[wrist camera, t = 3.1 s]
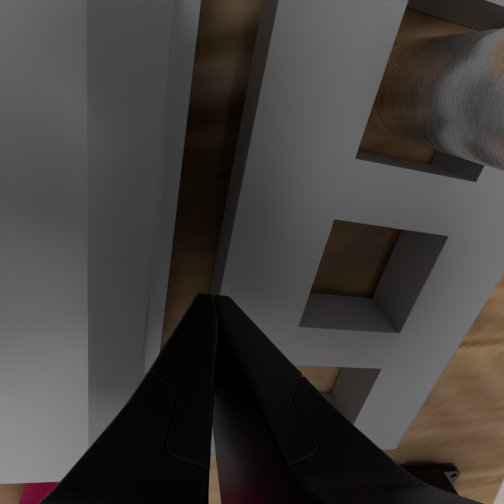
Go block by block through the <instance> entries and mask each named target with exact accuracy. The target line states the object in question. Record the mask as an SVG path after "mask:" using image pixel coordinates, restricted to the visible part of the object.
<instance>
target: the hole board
mask: <svg viewBox="0 0 504 504" xmlns="http://www.w3.org/2000/svg"><path fill="white" fill-rule="evenodd" d="M406 7H407V8H411V9H414V10H417V11H420V12H423V13H426V14H429V15H432V16H435V17H438V18H442V19H445V20H448V21H451V22H454V23H457V24H460V25H463V26H466V27H469V28H473V29H476V30H479V31H485V30H493V29H500V28H504V0H263V3H262V8H261V14H260V19H259V25H258V30H257V36H256V41H255V47H254V52H253V58H252V63H251V69H250V74H249V79H248V85H247V90H246V96H245V101H244V107H243V112H242V118H241V123H240V129H239V134H238V140H237V145H236V150H235V156H234V161H233V167H232V172H231V178H230V183H229V189H228V194H227V200H226V205H225V211H224V216H223V221H222V227H221V232H220V238H219V243H218V249H217V254H216V260H215V265H214V271H213V276H212V282H211V287H210V292H209V294H212V295H213V297H214V295H226V296H229V297H231V298H232V299H233V301H234V302H235V303H236V304H237V305H238V306H239V307H240V308H241V309H242V310H243V311H244V312H245V313H246V314H247V316H248V317H249V318H250V319H251V320H252V321H253V322H254V323H255V324H256V325H257V326H258V327H259V328H260V330H261V331H262V332H263V333H264V334H265V335H266V336H267V337H268V338H269V339H270V340H271V341H272V342H273V343H274V345H275V346H276V347H277V348H278V349H279V350H280V351H281V352H282V353H283V354H284V355H285V356H286V357H287V358H288V360H289V361H290V362H291V363H292V364H293V365H295V366H322V367H342V368H341V370H340V373H339V375H338V377H337V380H336V382H335V384H334V387H333V389H332V391H331V393H321V394H322V395H323V396H324V397H325V398H326V399H327V400H328V401H329V403H331V404H332V405H333V406H334V407H335V408H336V409H337V410H338V411H339V412H340V413H341V414H342V415H343V416H344V417H346V418H347V419H348V420H349V421H350V422H351V423H352V424H353V425H354V426H355V427H357V428H358V429H359V430H360V431H361V432H362V433H363V434H364V435H366V436H367V437H368V438H369V439H370V440H371V441H372V442H373V443H374V444H376V445H377V446H378V447H379V448H380V449H381V450H384V449H396V448H397V446H398V444H399V443H400V441H401V439H402V438H403V436H404V435H405V433H406V431H407V430H408V428H409V426H410V425H411V423H412V422H413V420H414V418H415V417H416V415H417V413H418V412H419V410H420V409H421V407H422V405H423V404H424V402H425V400H426V399H427V397H428V396H429V394H430V392H431V391H432V389H433V387H434V386H435V384H436V383H437V381H438V379H439V378H440V376H441V374H442V373H443V371H444V370H445V368H446V366H447V365H448V363H449V361H450V360H451V358H452V357H453V355H454V353H455V352H456V350H457V348H458V347H459V345H460V344H461V342H462V340H463V339H464V337H465V335H466V334H467V332H468V331H469V329H470V327H471V326H472V324H473V322H474V321H475V319H476V318H477V316H478V314H479V313H480V311H481V309H482V308H483V306H484V305H485V303H486V301H487V300H488V298H489V296H490V295H491V293H492V292H493V290H494V288H495V287H496V285H497V283H498V282H499V280H500V279H501V277H502V275H503V274H504V172H503V171H500V170H497V169H494V168H491V167H488V166H485V165H482V164H478V163H475V162H472V161H469V160H466V159H463V158H460V157H457V156H454V155H451V154H448V153H445V152H442V151H439V150H436V152H435V155H434V157H433V159H432V162H431V164H427V163H422V162H417V161H412V160H407V159H402V158H397V157H392V156H387V155H382V154H377V153H372V152H367V151H363V150H358V148H359V145H360V142H361V139H362V136H363V133H364V130H365V127H366V124H367V121H368V118H369V115H370V113H371V110H372V107H373V104H374V101H375V98H376V95H377V92H378V89H379V86H380V83H381V80H382V77H383V74H384V71H385V68H386V65H387V62H388V59H389V56H390V53H391V50H392V47H393V44H394V41H395V38H396V35H397V32H398V29H399V26H400V23H401V20H402V18H403V15H404V12H405V9H406ZM334 219H335V220H342V221H349V222H355V223H362V224H369V225H376V226H383V227H389V228H396V229H402V230H401V233H400V235H399V237H398V240H397V242H396V244H395V247H394V249H393V251H392V253H391V256H390V258H389V260H388V263H387V265H386V267H385V269H384V272H383V274H382V276H381V279H380V281H379V283H378V286H377V288H376V290H375V292H374V295H373V297H372V298H361V297H350V296H339V295H328V294H317V293H310V291H311V288H312V285H313V282H314V279H315V276H316V273H317V270H318V267H319V264H320V261H321V258H322V255H323V252H324V249H325V246H326V243H327V240H328V237H329V234H330V231H331V228H332V225H333V222H334ZM211 454H216V452H215V444H214V435H213V427H212V440H211Z"/></svg>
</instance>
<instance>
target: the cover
mask: <svg viewBox="0 0 504 504" xmlns="http://www.w3.org/2000/svg"><path fill="white" fill-rule="evenodd" d="M200 6H201V0H0V484H14V483H39V482H60V481H61V480H62V479H63V478H64V477H65V475H66V474H67V473H68V472H69V471H70V470H71V468H72V467H73V466H74V465H75V464H76V463H77V461H78V460H79V459H80V458H81V457H82V456H83V454H84V453H85V452H86V451H87V450H88V449H89V447H90V446H91V445H92V444H93V443H94V442H95V440H96V439H97V438H98V437H99V436H100V435H101V433H102V432H103V431H104V430H105V429H106V428H107V426H108V425H109V424H110V423H111V422H112V420H113V419H114V418H115V417H116V415H117V414H118V413H119V412H120V411H121V409H122V408H123V407H124V406H125V404H126V403H127V402H128V400H129V399H130V398H131V396H132V395H133V393H134V392H135V390H136V389H137V387H138V386H139V385H140V383H141V381H142V380H143V378H144V377H145V375H146V374H147V372H149V369H150V368H151V366H152V365H153V363H154V361H155V360H156V358H157V357H158V355H159V354H160V346H161V337H162V329H163V320H164V312H165V303H166V295H167V286H168V278H169V269H170V261H171V252H172V244H173V235H174V227H175V218H176V210H177V201H178V193H179V184H180V176H181V168H182V159H183V151H184V142H185V134H186V125H187V117H188V108H189V100H190V91H191V83H192V74H193V66H194V57H195V49H196V40H197V32H198V23H199V15H200Z"/></svg>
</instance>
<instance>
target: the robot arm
mask: <svg viewBox="0 0 504 504" xmlns="http://www.w3.org/2000/svg"><path fill="white" fill-rule="evenodd" d="M212 427H213V435H214V444H215V452H216V461H217V470H218V478H219V487H220V495H221V504H483V503H480V502H477V501H474V500H471V499H468V498H465V497H462V496H459V495H458V493H457V492H456V490H455V489H454V487H453V485H452V484H453V483H454V481H455V480H456V479H457V478H458V476H459V475H460V472H459V470H458V469H457V467H456V466H433V467H408V468H402V467H400V466H399V465H398V464H397V463H396V462H395V461H393V460H392V459H391V458H390V457H389V456H388V455H387V454H386V453H384V452H383V451H382V450H381V449H380V448H379V447H378V446H377V445H376V444H374V443H373V442H372V441H371V440H370V439H369V438H368V437H367V436H366V435H364V434H363V433H362V432H361V431H360V430H359V429H358V428H357V427H355V426H354V425H353V424H352V423H351V422H350V421H349V420H348V419H347V418H346V417H344V416H343V415H342V414H341V413H340V412H339V411H338V410H337V409H336V408H335V407H334V406H333V405H332V404H331V403H329V401H328V400H327V399H326V398H325V397H324V396H323V395H322V394H321V393H320V392H319V391H318V390H317V389H316V388H315V387H314V386H313V385H312V384H311V383H310V382H309V381H308V380H307V379H306V378H305V377H304V376H303V377H302V373H301V372H300V371H299V370H298V369H297V368H296V367H295V366H294V365H293V364H292V363H291V362H290V361H289V360H288V358H287V357H286V356H285V355H284V354H283V353H282V352H281V351H280V350H279V349H278V348H277V347H276V346H275V345H274V343H273V342H272V341H271V340H270V339H269V338H268V337H267V336H266V335H265V334H264V333H263V332H262V331H261V330H260V328H259V327H258V326H257V325H256V324H255V323H254V322H253V321H252V320H251V319H250V318H249V317H248V316H247V314H246V313H245V312H244V311H243V310H242V309H241V308H240V307H239V306H238V305H237V304H236V303H235V302H234V301H233V299H232V298H231V297H229V296H226V295H214V297H213V295H212V294H202V293H199V294H197V295H196V297H195V298H194V300H193V302H192V303H191V305H190V306H189V308H188V309H187V311H186V313H185V314H184V316H183V317H182V319H181V320H180V322H179V324H178V325H177V327H176V328H175V330H174V331H173V333H172V335H171V336H170V338H169V339H168V341H167V342H166V344H165V346H164V347H163V349H162V350H161V352H160V354H159V355H158V357H157V358H156V360H155V361H154V363H153V365H152V366H151V368H150V369H149V372H147V374H146V375H145V377H144V378H143V380H142V381H141V383H140V385H139V386H138V387H137V389H136V390H135V392H134V393H133V395H132V396H131V398H130V399H129V400H128V402H127V403H126V404H125V406H124V407H123V408H122V409H121V411H120V412H119V413H118V414H117V415H116V417H115V418H114V419H113V420H112V422H111V423H110V424H109V425H108V426H107V428H106V429H105V430H104V431H103V432H102V433H101V435H100V436H99V437H98V438H97V439H96V440H95V442H94V443H93V444H92V445H91V446H90V447H89V449H88V450H87V451H86V452H85V453H84V454H83V456H82V457H81V458H80V459H79V460H78V461H77V463H76V464H75V465H74V466H73V467H72V468H71V470H70V471H69V472H68V473H67V474H66V475H65V477H64V478H63V479H62V480H61V481H60V482H59V483H58V484H57V485H56V486H55V488H54V489H53V490H52V491H51V492H50V493H49V494H48V495H47V496H45V497H44V498H43V499H42V500H41V501H40V502H39V503H38V504H208V491H209V470H210V456H211V440H212Z"/></svg>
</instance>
